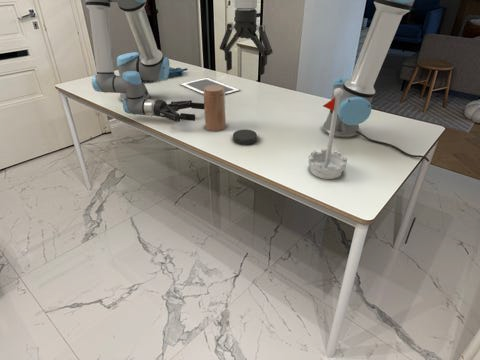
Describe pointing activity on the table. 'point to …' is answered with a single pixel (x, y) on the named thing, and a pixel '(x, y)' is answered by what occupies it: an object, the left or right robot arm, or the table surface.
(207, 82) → the tablet
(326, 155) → the flag stand
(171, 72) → the submachine gun
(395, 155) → the table surface
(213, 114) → the jar
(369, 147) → the table surface
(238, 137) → the lid
